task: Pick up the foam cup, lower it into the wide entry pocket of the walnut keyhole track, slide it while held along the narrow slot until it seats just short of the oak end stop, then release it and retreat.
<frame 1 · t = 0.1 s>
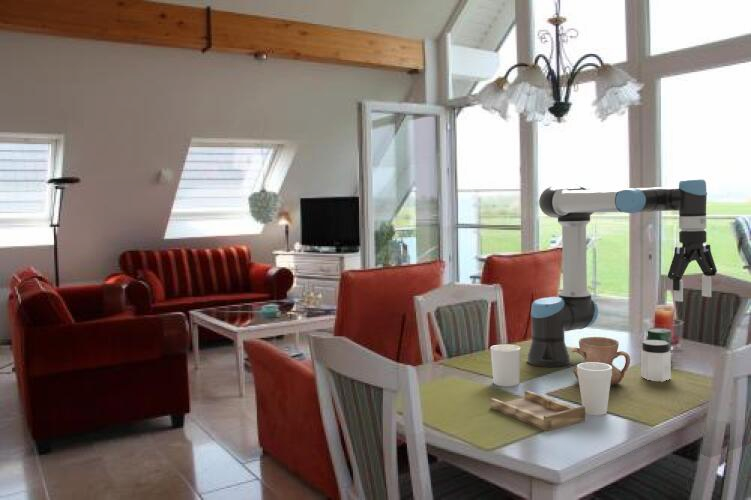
hand: (692, 298, 199), 28 cm above the table, tool pointing down, fingers open, 13 cm apart
candle holder: (506, 383, 213), on the table
ceramic jug: (600, 384, 209), on the table
foam cup: (594, 412, 183), on the table
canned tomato: (659, 360, 236), on the table
jar: (655, 378, 213), on the table
keyhole track: (536, 414, 182), on the table
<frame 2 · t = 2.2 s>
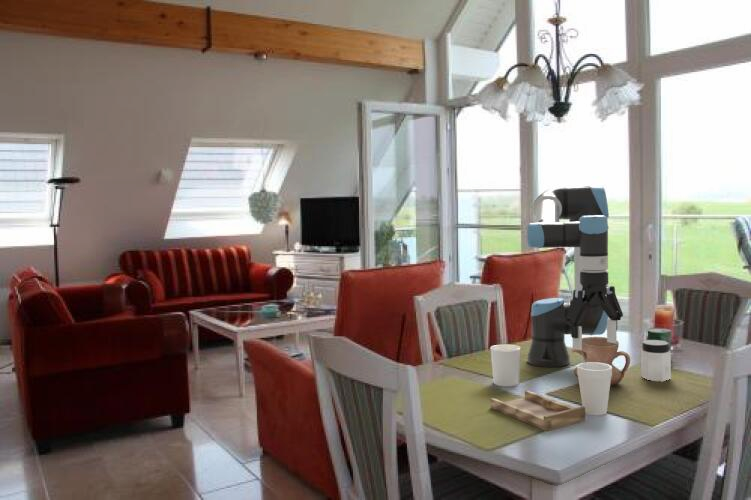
hand: (594, 346, 181), 19 cm above the table, tool pointing down, fingers open, 13 cm apart
nothing on the table moved.
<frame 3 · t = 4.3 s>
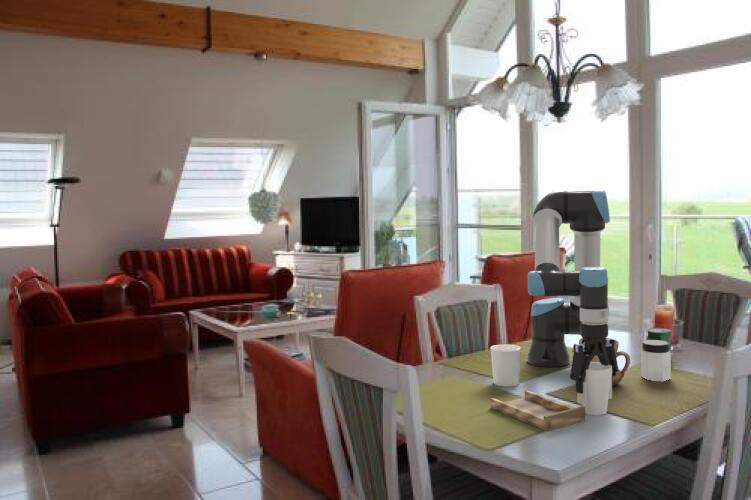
hand: (594, 400, 182), 3 cm above the table, tool pointing down, fingers closed on foam cup, 9 cm apart
foam cup: (594, 412, 183), on the table, touching gripper
everything else where it was.
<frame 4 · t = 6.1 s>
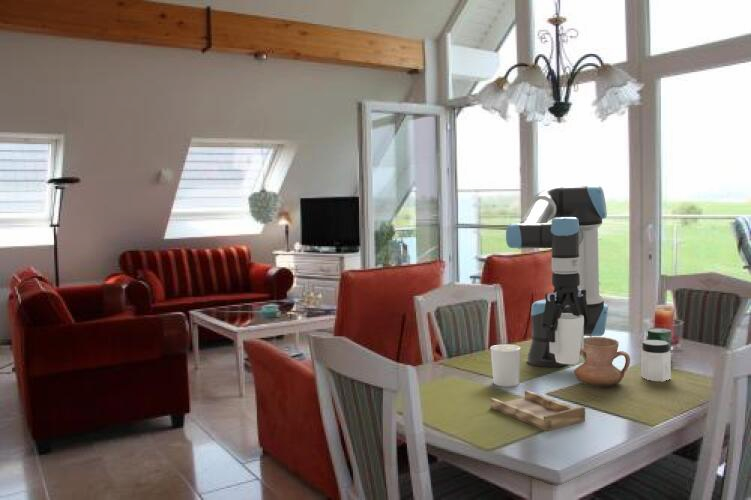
hand: (566, 350, 183), 17 cm above the table, tool pointing down, fingers closed on foam cup, 9 cm apart
foam cup: (567, 361, 183), point 14 cm above the table, touching gripper
everything else where it was.
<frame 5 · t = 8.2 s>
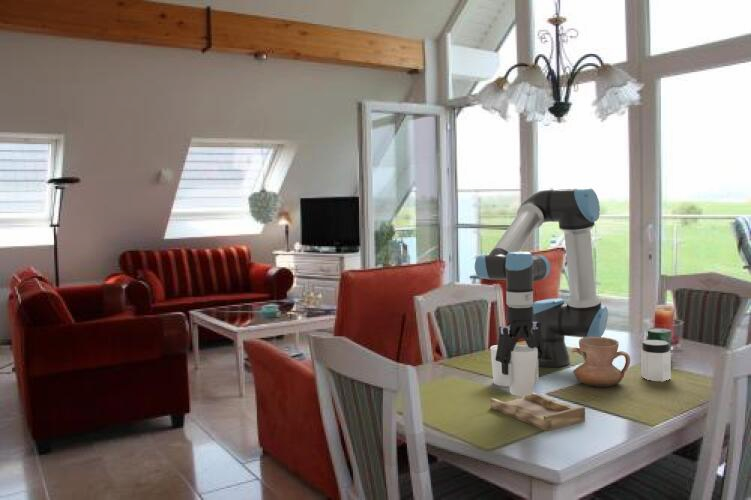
hand: (521, 382, 187), 8 cm above the table, tool pointing down, fingers closed on foam cup, 9 cm apart
foam cup: (521, 393, 187), point 5 cm above the table, touching gripper
everything else where it was.
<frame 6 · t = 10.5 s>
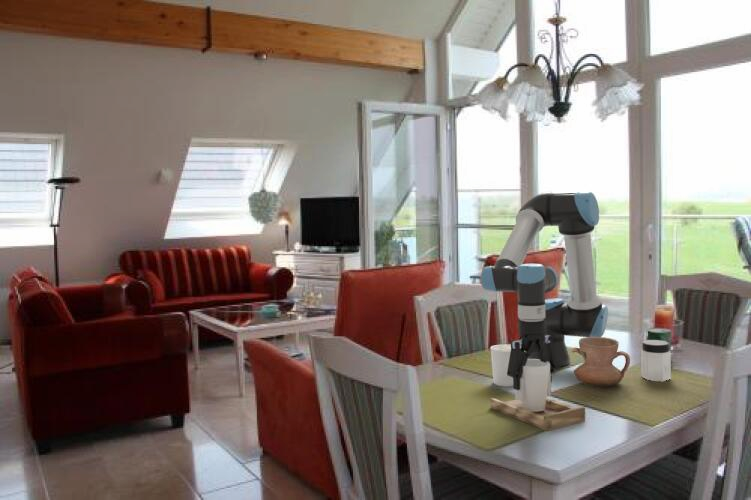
hand: (533, 397, 183), 5 cm above the table, tool pointing down, fingers closed on foam cup, 9 cm apart
foam cup: (533, 408, 183), point 1 cm above the table, touching gripper
everything else where it was.
when the fingers open (4 cm above the table, at t = 12.3 s): foam cup stays where it is, resting on keyhole track.
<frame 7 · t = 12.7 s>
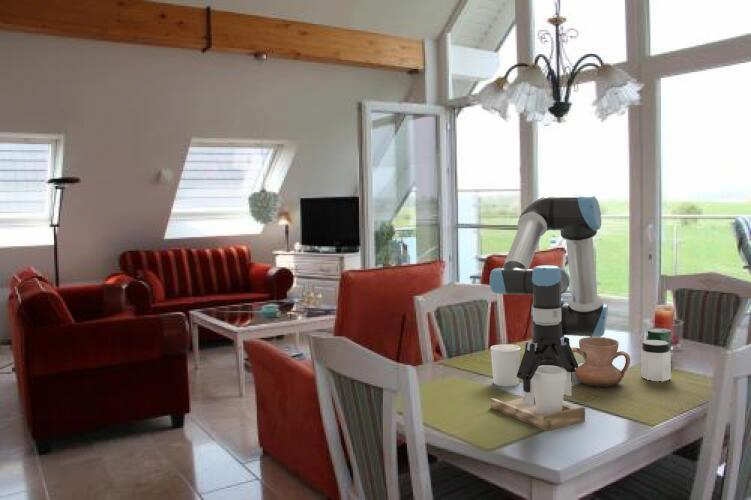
hand: (548, 398, 177), 6 cm above the table, tool pointing down, fingers open, 13 cm apart
foam cup: (549, 416, 178), point 1 cm above the table, touching keyhole track
everything else where it was.
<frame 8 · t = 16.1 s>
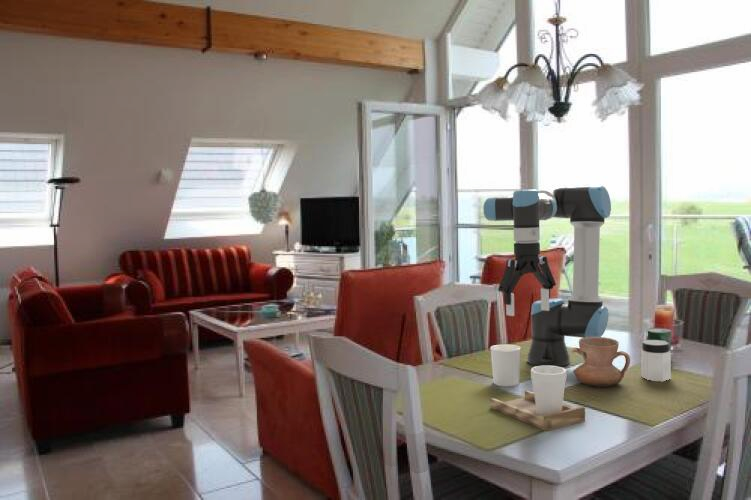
hand: (528, 312, 193), 27 cm above the table, tool pointing down, fingers open, 13 cm apart
nothing on the table moved.
at the end: foam cup 1.0 cm from the target spot on the keyhole track, point 0.6 cm above the keyhole track's base; foam cup tilted 0°; the gripper is holding nothing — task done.
